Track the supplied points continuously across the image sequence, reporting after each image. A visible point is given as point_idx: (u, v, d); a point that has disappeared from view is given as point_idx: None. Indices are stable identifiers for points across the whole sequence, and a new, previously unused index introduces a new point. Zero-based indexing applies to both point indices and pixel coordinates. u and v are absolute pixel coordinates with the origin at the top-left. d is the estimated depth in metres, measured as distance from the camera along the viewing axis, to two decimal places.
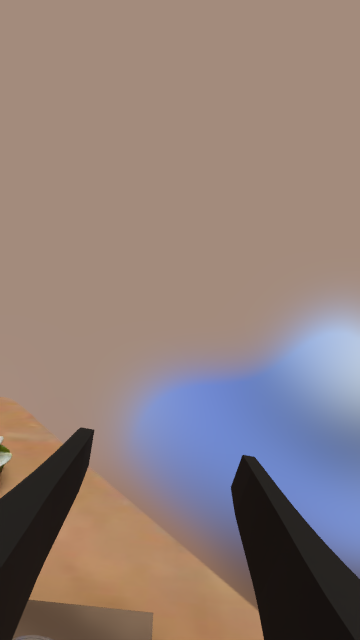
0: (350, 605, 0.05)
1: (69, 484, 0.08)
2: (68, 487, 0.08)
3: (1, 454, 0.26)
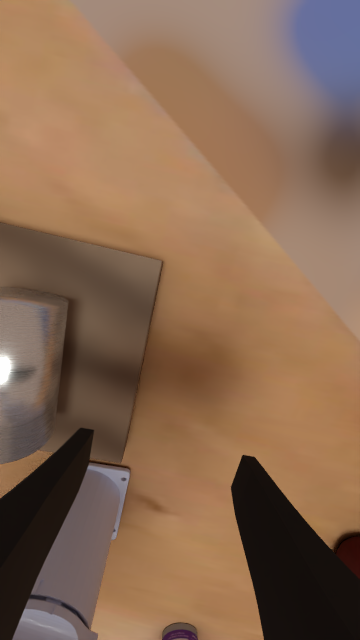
0: (350, 605, 0.05)
1: (69, 484, 0.08)
2: (68, 487, 0.08)
3: None
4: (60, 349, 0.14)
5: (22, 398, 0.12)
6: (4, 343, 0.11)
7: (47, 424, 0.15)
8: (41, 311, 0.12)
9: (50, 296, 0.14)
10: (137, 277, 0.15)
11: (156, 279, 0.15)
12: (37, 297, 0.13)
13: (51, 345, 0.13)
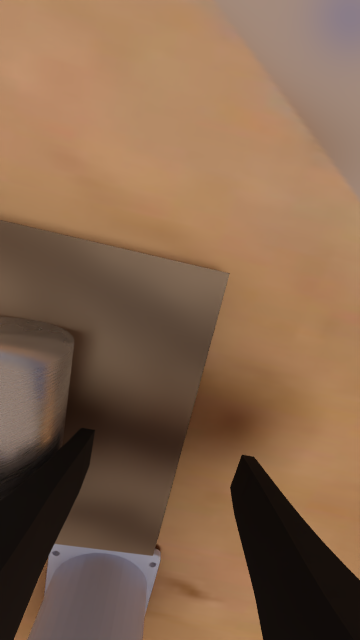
0: (349, 605, 0.05)
1: (70, 484, 0.08)
2: (69, 487, 0.08)
3: None
4: (58, 426, 0.08)
5: None
6: None
7: None
8: (14, 378, 0.06)
9: (47, 332, 0.09)
10: (189, 300, 0.10)
11: (219, 302, 0.10)
12: (21, 338, 0.08)
13: (38, 431, 0.07)
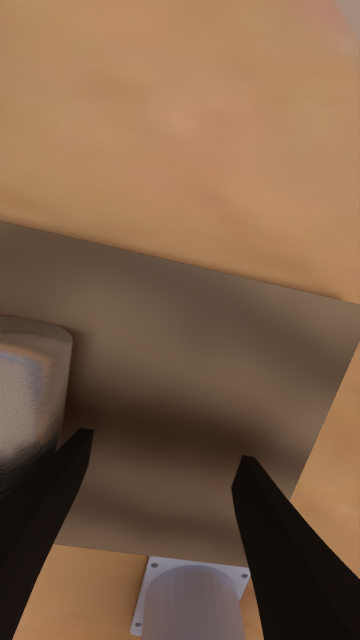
0: (350, 604, 0.05)
1: (69, 484, 0.08)
2: (68, 487, 0.08)
3: None
4: None
5: None
6: None
7: None
8: None
9: None
10: (332, 332, 0.10)
11: None
12: None
13: None
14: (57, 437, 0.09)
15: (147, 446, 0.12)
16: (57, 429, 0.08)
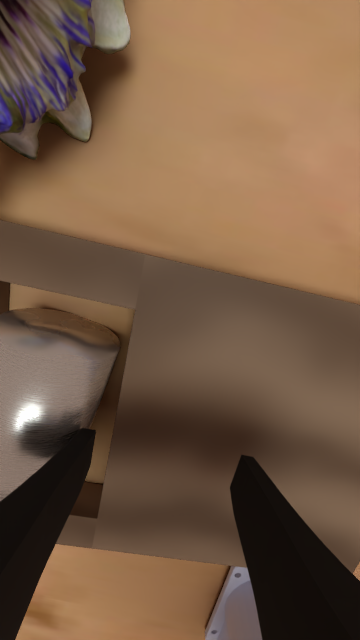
0: (347, 604, 0.05)
1: (71, 484, 0.08)
2: (70, 487, 0.08)
3: None
4: (97, 406, 0.10)
5: None
6: (30, 405, 0.08)
7: None
8: (88, 365, 0.08)
9: (98, 331, 0.11)
10: None
11: None
12: (83, 333, 0.10)
13: (88, 406, 0.09)
14: None
15: (261, 465, 0.12)
16: None
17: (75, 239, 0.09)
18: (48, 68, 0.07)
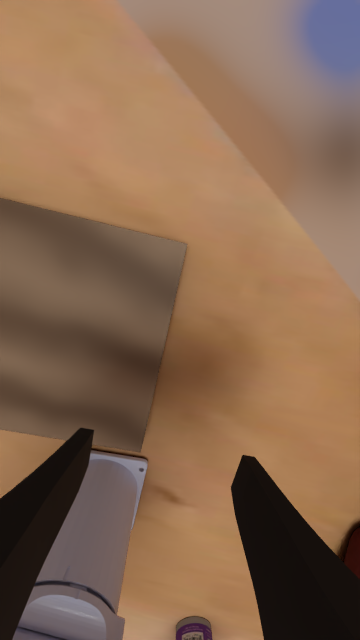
0: (350, 604, 0.05)
1: (69, 484, 0.08)
2: (68, 487, 0.08)
3: None
4: None
5: None
6: None
7: None
8: None
9: None
10: (162, 261, 0.15)
11: (181, 263, 0.15)
12: None
13: None
14: None
15: (44, 347, 0.16)
16: None
17: None
18: None
